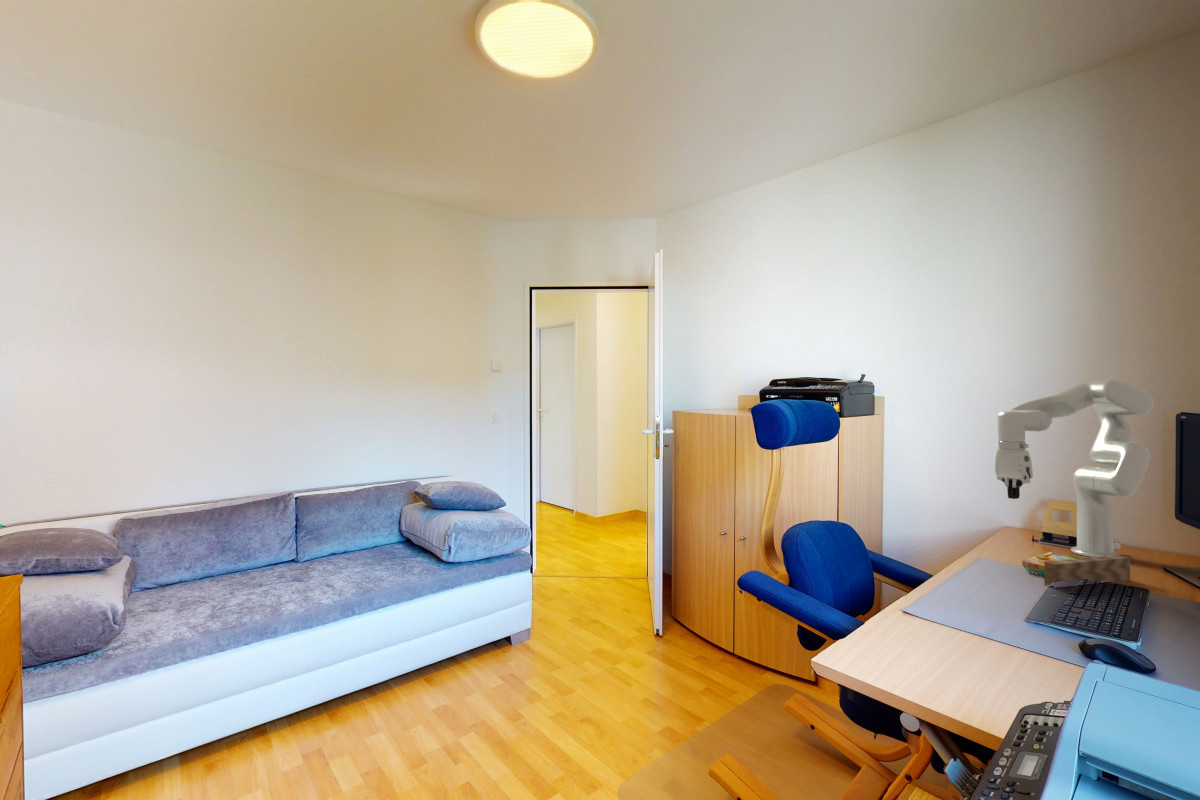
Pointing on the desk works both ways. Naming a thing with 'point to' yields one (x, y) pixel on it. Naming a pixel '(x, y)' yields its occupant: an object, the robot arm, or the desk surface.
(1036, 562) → the puzzle game
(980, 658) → the desk surface
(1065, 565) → the rail
